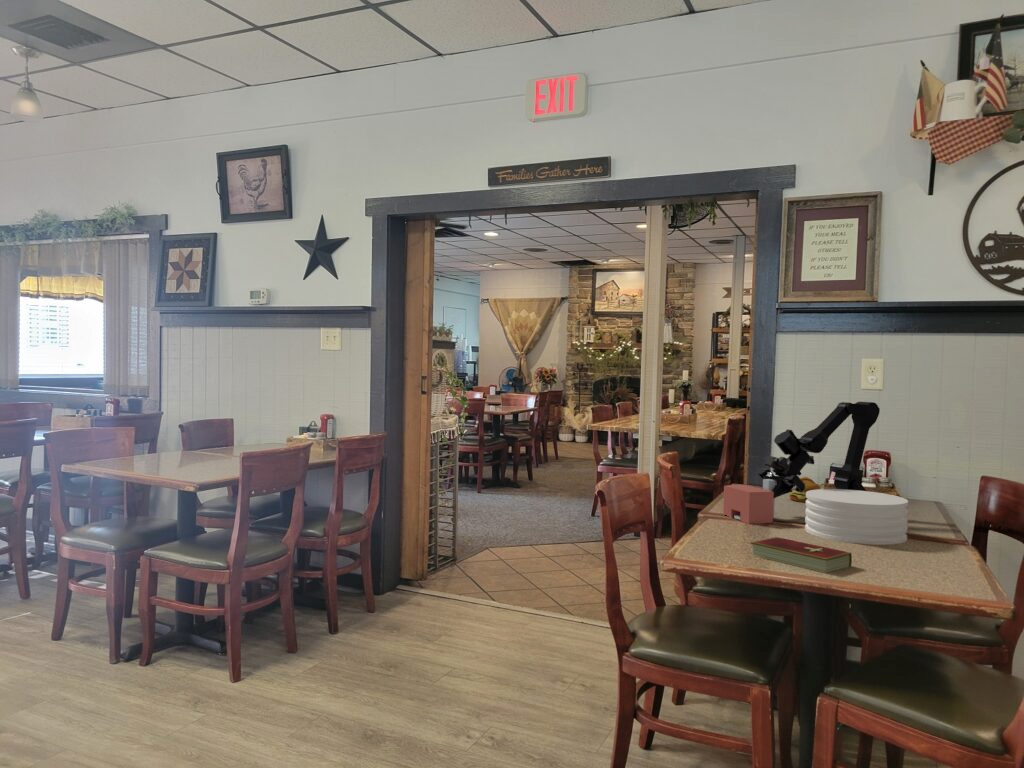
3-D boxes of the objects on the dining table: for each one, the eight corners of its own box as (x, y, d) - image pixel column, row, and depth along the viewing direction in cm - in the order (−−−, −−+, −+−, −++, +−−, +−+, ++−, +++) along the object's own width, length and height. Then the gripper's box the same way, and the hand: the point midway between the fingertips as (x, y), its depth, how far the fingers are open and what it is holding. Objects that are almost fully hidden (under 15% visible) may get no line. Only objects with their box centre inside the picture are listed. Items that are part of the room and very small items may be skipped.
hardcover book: (776, 551, 201) (776, 535, 201) (851, 568, 185) (852, 551, 185) (750, 557, 194) (750, 540, 194) (825, 575, 177) (826, 557, 177)
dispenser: (747, 514, 251) (748, 484, 251) (774, 522, 238) (775, 491, 238) (723, 515, 248) (724, 485, 248) (748, 523, 235) (749, 492, 235)
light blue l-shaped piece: (768, 516, 247) (769, 479, 247) (774, 518, 245) (775, 480, 244) (734, 517, 243) (735, 479, 243) (739, 519, 240) (740, 481, 240)
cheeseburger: (796, 497, 290) (802, 473, 288) (821, 507, 282) (828, 483, 280) (782, 499, 283) (789, 474, 281) (807, 510, 275) (814, 484, 273)
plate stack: (920, 548, 207) (922, 507, 207) (814, 541, 213) (815, 501, 213) (890, 527, 235) (891, 491, 235) (797, 522, 240) (798, 487, 240)
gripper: (762, 444, 255) (734, 477, 252) (798, 450, 238) (768, 485, 234) (781, 467, 258) (753, 499, 255) (818, 474, 240) (789, 509, 237)
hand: (765, 498), depth 245 cm, fingers closed on light blue l-shaped piece, 3 cm apart
